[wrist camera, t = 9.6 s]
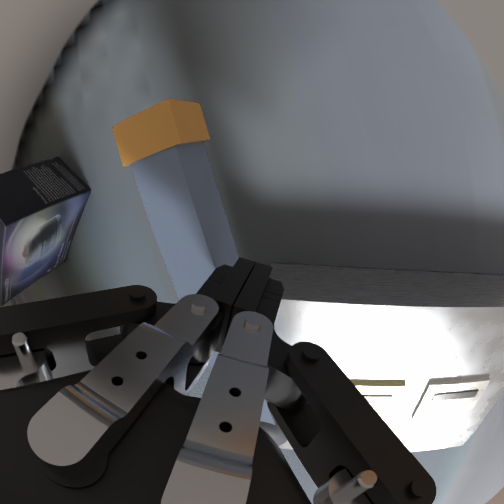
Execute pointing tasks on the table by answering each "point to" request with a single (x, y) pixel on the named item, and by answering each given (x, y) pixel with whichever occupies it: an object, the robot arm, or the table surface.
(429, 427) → the chassis
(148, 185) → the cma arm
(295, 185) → the table surface
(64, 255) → the small box
